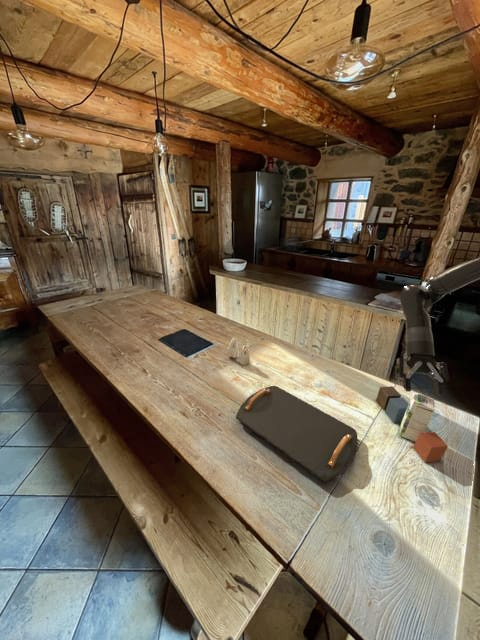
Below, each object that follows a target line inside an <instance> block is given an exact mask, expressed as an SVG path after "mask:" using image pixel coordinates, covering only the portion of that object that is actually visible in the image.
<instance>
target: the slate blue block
mask: <svg viewBox="0 0 480 640" xmlns="http://www.w3.org/2000/svg"><path fill="white" fill-rule="evenodd" d="M409 403H410V402H408V401H407V400H406V399H405V398H404V397H400V398H390V399H389V402H388V405H387V408H386V410H384V411H385V412H384V413H385V414H386V415H387V416H388V418H389V419H390V420H391V421H392V423H393V424H395V423H397V424H398V423H401V422H402V420H403V417H404V415H405V412H406V410H407V407H408V405H409Z"/></svg>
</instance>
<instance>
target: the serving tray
mask: <svg viewBox="0 0 480 640" xmlns="http://www.w3.org/2000/svg"><path fill="white" fill-rule="evenodd" d="M235 418H236V420H237V421H239V422H240V423H241V424H243V425H244V426H246V428H248V429H250V430H252V432H254V433H255V434H256V435H258V436H259V437H261V438H263V439H264V440H266V441H267V442H268V443H269V444H270V445H271V446H273V447H274V448H276V449H277V450H279V452H282V453H283V454H285V455H286V456H287V457H288V458H289V459H290V460H292V461H293V462H296V463H297V464H299V465H300V466H301V467H303V468H304V469H306V470H307V471H308V472H310V473H311V474H313V475H314V476H315V477H317V478H318V479H320V480H321V481H322V482H324V483H327V482H328V481H330V480H332V479H334V478H335V477H337V476H340V475H341V474H342V473H344V471H345V470H346V469H348V468H349V467H350V466H351V464H352V462H353V461H354V459H355V457H356V456H357V451H358V445H359V444H358V443H359V442H358V432H357V430H356V429H355V428H354V427H352V426H350V425H349V424H346V422H343V421H341V420H339V419H338V418H335V417H334V416H332V415H331V414H328V413H326V412H325V411H323V410H321V409H319V408H318V407H315V406H313V405H312V404H311V403H308V402H306V401H305V400H303V399H301V398H299V397H298V396H295V395H293V394H292V393H290V392H289V391H286V390H285V389H282V388H281V387H279V386H276V385H270V386H266V387H265V388H262V389H259V390H257V391H256V392H254V393H252V394H250V395H249V396H248V397H247V398H246V399H245V400H244V401H243V403H242V404H241V405H240V407H239V409H238V411H237V413H236V415H235Z"/></svg>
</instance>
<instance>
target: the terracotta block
mask: <svg viewBox="0 0 480 640" xmlns="http://www.w3.org/2000/svg"><path fill="white" fill-rule="evenodd" d="M448 446H449V445H448V444H447V443H446V442H445V440H443V439H442V438H441V437H440V436H439V434H438V433H437V432H435V431H429V432H424V433H420V434H419V436H418V438H417V441H416V442H414V445H413V450H414V451H415V452H416V453H417V455H419V458H420V459H422V461H423V462H424V463H434V462H435V463H436V462H442V459H443V457H444V455H445V453H446V451H447V449H448Z"/></svg>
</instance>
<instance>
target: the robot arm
mask: <svg viewBox="0 0 480 640" xmlns="http://www.w3.org/2000/svg"><path fill="white" fill-rule="evenodd" d="M478 280H480V256H479V257H476V258H472V259H469V260H465V261H461V262H459V263H457V264H454V265H452V266H450V267H448V268H446V269H444V270H443V271H441V272H438V273H436V274H435V275H433V276H432V277H431V278H429V280H428V284H429V285H428V286H427V287H426V288H422V287H421V286H420V285H416V284H407V285H406V286H404V287H403V288H402V290H401V291H400V294H399V304H400V307H401V310H402V312H403V316H404V318H405V340H404V341H405V351H406V358H404V357H402V356H400V357H398V358H396V360H395V367H396V368H395V376H396V377H397V378H398V377H399V378H401V379H402V386H403V390H405V392H409V393H410V392H412V382H411V377H412V376H413V375H414V374H417V375H418V374H421V375H427V376H428V377H429V378H431V380H432V381H433V382H434V383H433V387H434V395H435V396H437V397H438V396H442V395H443V393H444V387H443V386H444V385H443V383H445V382H449V381H450V374H449V370H448V364H447V362H446V361H441V362H439V361H438V362H437V361H436V360H435V355H436V354H435V345H434V334H433V331H432V322H431V316H430V314H429V312H427V311H426V310H425V309H427V308H429V307H432V306H433V305H435V304H436V303H437V302H438V301H440V300H441V299H442V298H444V297H445V296H446V295H448V294H450V293H452V292H455V291H456V290H459V289H460V288H463V287H465V286H467V285H469V284H471V283H473V282H476V281H478ZM405 365H407V366H408V369H407V370H406V371H405V369H404V368H405V367H404V366H405ZM436 368H437V369H438V371H437V370H436ZM404 371H405V372H404Z"/></svg>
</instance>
